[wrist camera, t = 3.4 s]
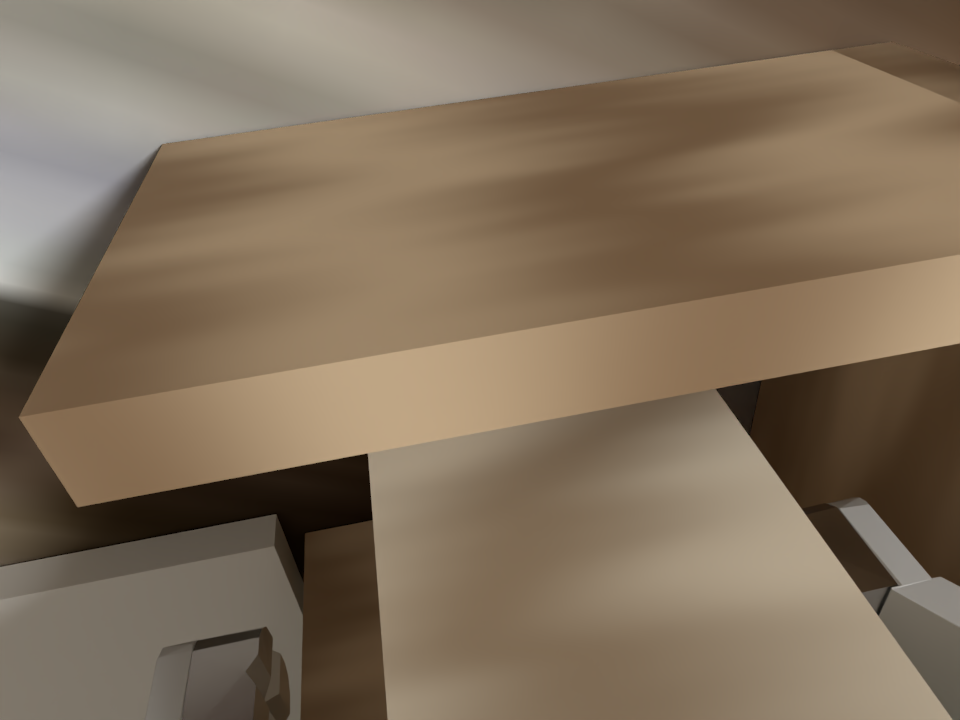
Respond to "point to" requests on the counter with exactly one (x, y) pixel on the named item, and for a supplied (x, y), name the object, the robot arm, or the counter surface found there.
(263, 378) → the shelf
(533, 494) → the block
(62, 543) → the counter surface
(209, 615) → the tile
